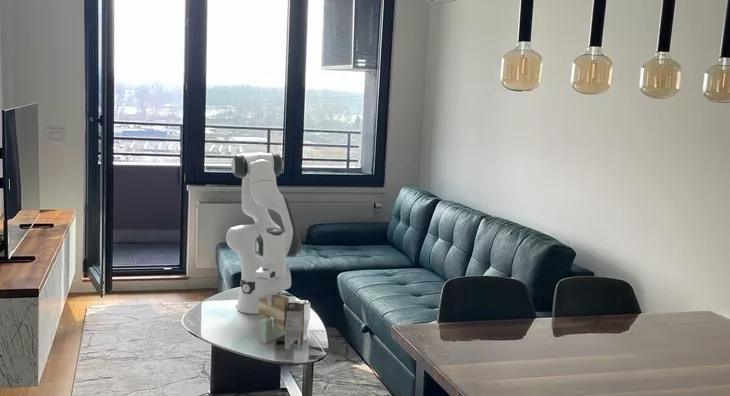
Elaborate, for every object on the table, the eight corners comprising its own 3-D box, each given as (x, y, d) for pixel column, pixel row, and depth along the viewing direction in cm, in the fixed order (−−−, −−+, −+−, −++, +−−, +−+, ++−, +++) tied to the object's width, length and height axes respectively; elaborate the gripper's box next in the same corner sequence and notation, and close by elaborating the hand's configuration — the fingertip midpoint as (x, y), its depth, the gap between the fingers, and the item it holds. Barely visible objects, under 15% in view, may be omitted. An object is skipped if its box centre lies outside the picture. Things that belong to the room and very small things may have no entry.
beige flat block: (263, 323, 279) (263, 292, 277) (288, 328, 274) (288, 296, 272) (258, 325, 276) (259, 293, 275) (283, 330, 271) (284, 298, 269)
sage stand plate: (279, 332, 283) (279, 311, 281) (285, 334, 281) (286, 312, 280) (259, 342, 270) (259, 320, 269) (265, 343, 269) (266, 321, 268)
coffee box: (287, 341, 272) (288, 302, 270) (303, 342, 272) (304, 302, 270) (284, 349, 263) (285, 308, 261) (300, 350, 263) (302, 309, 261)
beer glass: (306, 343, 272) (307, 306, 270) (289, 341, 273) (290, 304, 271) (311, 337, 278) (312, 301, 276) (295, 335, 280) (295, 299, 278)
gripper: (282, 263, 283) (281, 296, 284) (252, 273, 264) (251, 308, 266) (295, 265, 280) (294, 298, 282) (266, 275, 262) (265, 311, 263)
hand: (273, 303), depth 274 cm, fingers closed on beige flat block, 3 cm apart
